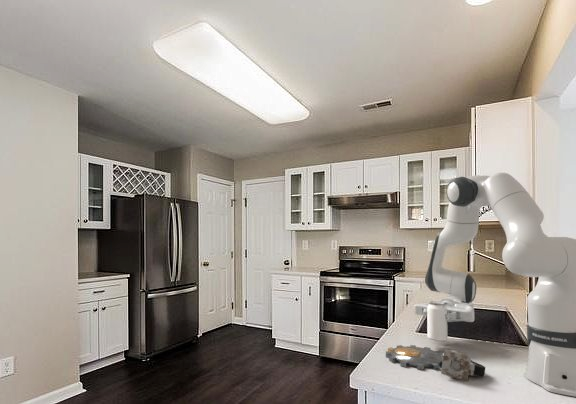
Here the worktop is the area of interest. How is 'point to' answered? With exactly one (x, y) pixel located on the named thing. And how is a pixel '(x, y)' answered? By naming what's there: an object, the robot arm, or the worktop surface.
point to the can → (436, 322)
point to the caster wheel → (460, 366)
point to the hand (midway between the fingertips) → (435, 315)
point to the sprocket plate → (415, 357)
